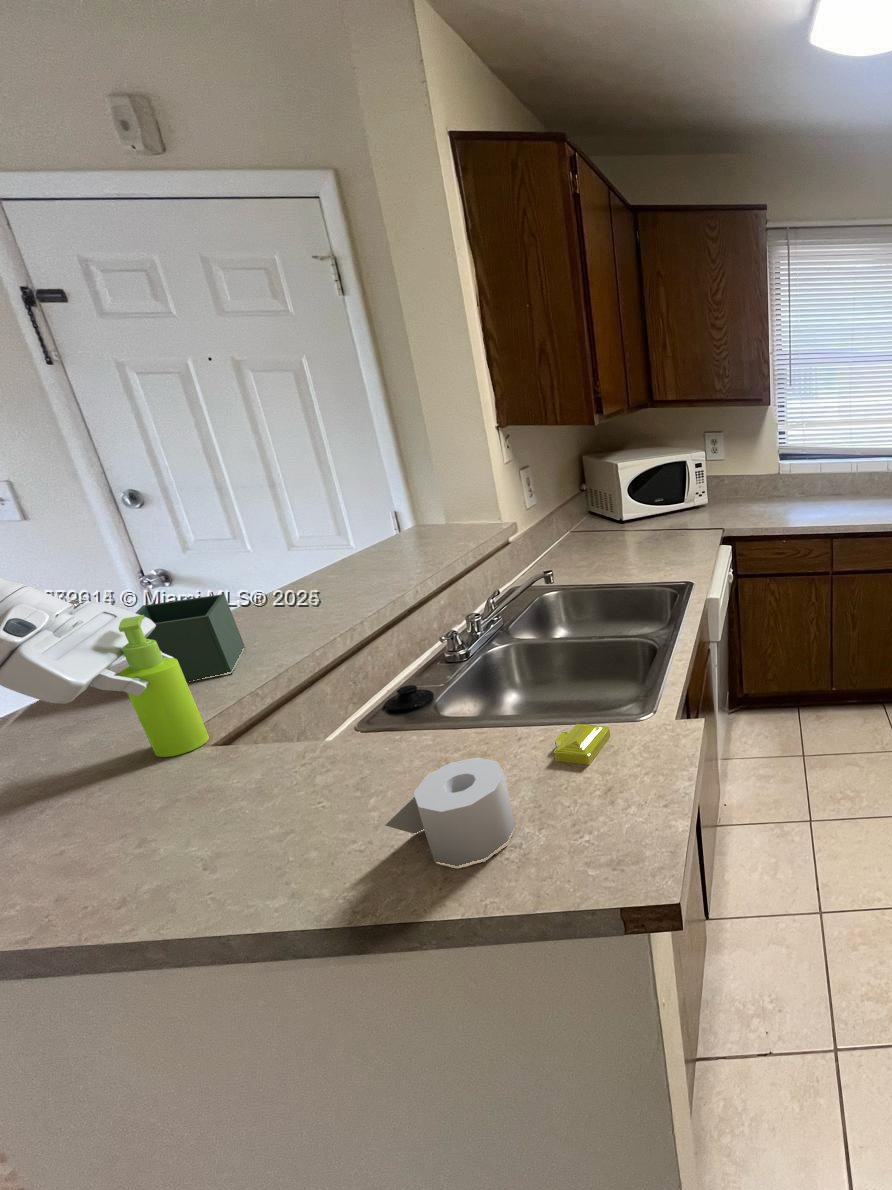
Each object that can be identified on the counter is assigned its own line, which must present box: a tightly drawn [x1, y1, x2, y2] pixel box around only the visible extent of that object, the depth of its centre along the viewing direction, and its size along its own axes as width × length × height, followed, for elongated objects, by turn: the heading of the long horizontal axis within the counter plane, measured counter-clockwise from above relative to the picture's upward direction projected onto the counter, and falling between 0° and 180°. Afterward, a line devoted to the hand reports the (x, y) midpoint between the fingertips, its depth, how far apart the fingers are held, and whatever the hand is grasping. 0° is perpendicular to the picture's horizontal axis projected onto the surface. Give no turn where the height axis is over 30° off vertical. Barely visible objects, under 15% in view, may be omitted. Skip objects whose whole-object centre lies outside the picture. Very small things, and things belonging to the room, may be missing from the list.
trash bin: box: [135, 593, 245, 683], centre depth 109 cm, size 11×11×12 cm
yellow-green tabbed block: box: [535, 723, 624, 774], centre depth 91 cm, size 10×9×3 cm
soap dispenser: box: [118, 615, 210, 758], centre depth 87 cm, size 6×7×20 cm
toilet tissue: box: [384, 756, 517, 866], centre depth 73 cm, size 9×13×9 cm
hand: (158, 676), depth 87 cm, fingers closed on soap dispenser, 6 cm apart
